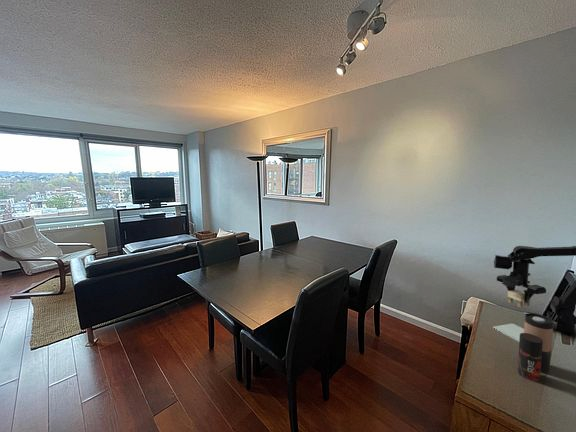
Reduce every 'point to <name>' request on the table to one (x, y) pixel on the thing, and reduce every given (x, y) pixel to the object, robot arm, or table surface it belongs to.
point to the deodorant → (530, 356)
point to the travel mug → (541, 335)
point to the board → (510, 330)
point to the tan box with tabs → (517, 297)
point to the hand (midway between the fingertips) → (518, 299)
